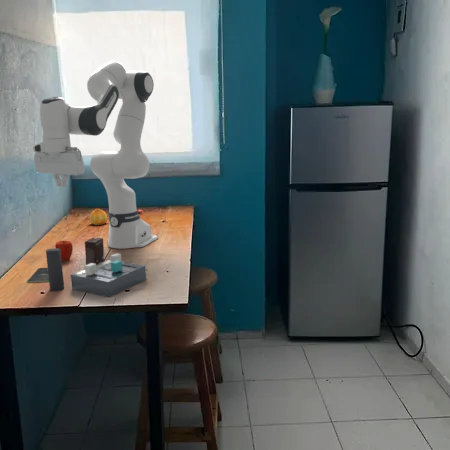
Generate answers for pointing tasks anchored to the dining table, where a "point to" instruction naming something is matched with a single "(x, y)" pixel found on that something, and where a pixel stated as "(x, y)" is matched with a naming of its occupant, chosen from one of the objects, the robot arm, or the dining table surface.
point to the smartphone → (39, 276)
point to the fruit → (98, 217)
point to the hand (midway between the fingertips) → (61, 186)
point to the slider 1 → (90, 269)
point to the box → (94, 251)
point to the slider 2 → (115, 257)
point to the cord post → (55, 269)
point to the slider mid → (116, 266)
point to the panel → (108, 279)
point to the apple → (65, 249)
